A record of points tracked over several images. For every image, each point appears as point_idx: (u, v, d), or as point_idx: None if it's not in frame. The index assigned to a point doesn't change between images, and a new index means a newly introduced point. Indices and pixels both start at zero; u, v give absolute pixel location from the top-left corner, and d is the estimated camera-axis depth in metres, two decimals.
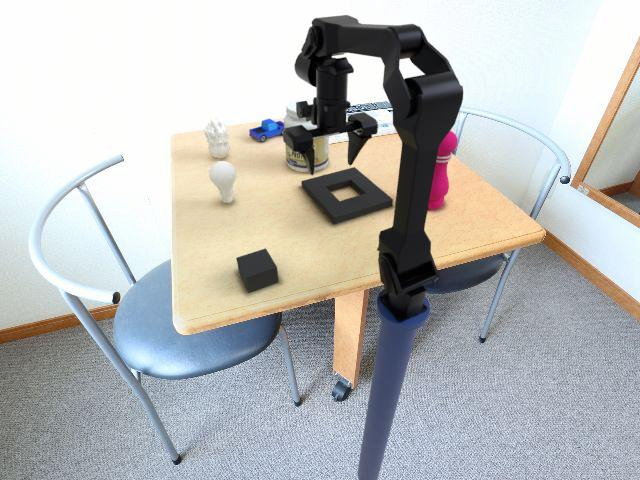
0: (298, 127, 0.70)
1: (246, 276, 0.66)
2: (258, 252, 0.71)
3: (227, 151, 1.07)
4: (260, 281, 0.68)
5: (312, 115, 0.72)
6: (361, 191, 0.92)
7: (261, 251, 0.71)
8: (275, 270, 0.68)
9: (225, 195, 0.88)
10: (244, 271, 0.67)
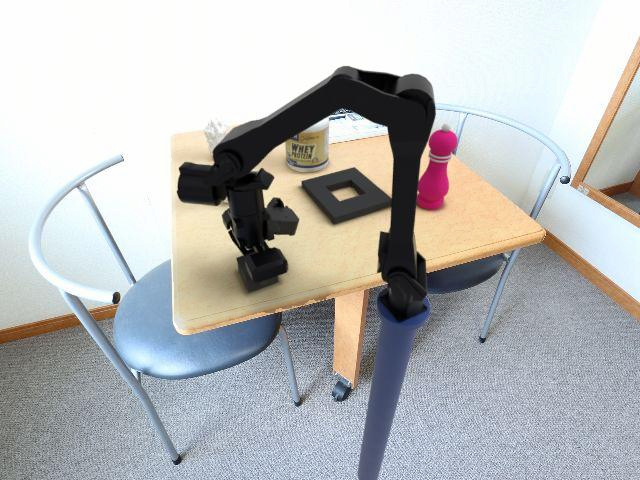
0: None
1: (246, 276, 0.66)
2: None
3: None
4: None
5: None
6: (361, 191, 0.92)
7: None
8: None
9: None
10: (244, 271, 0.67)
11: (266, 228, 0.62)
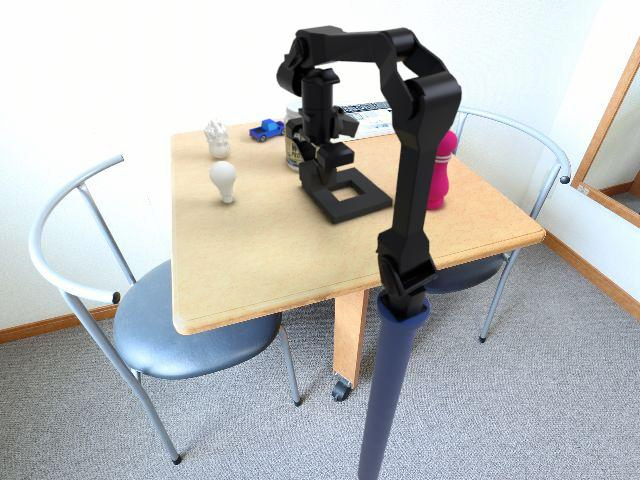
0: None
1: (311, 174, 0.73)
2: None
3: (227, 151, 1.07)
4: None
5: None
6: (361, 191, 0.92)
7: None
8: (335, 172, 0.75)
9: (225, 195, 0.88)
10: (308, 171, 0.74)
11: (333, 126, 0.69)
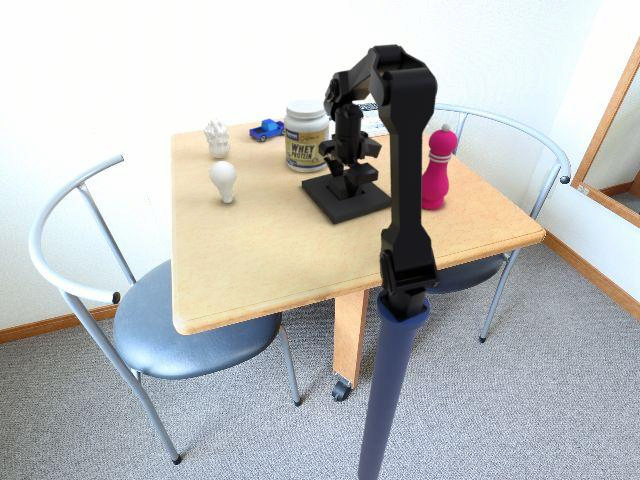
0: None
1: (340, 189, 0.87)
2: (345, 175, 0.92)
3: (227, 151, 1.07)
4: None
5: None
6: None
7: None
8: (360, 186, 0.89)
9: (225, 195, 0.88)
10: (338, 186, 0.88)
11: (360, 149, 0.83)
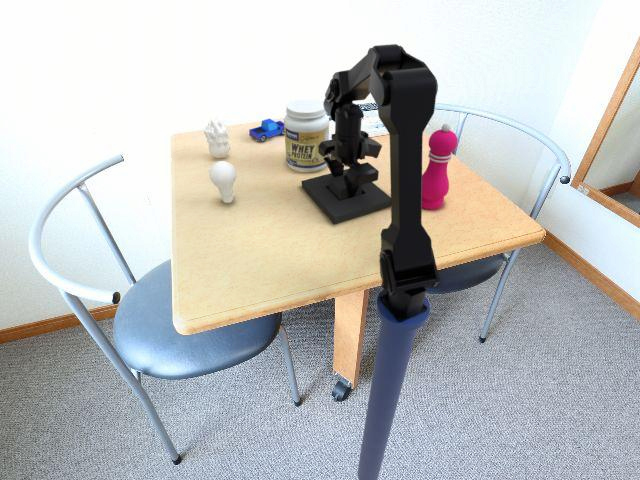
0: None
1: (341, 189, 0.87)
2: (345, 175, 0.92)
3: (227, 151, 1.07)
4: None
5: None
6: None
7: None
8: (360, 186, 0.89)
9: (225, 195, 0.88)
10: (338, 186, 0.88)
11: (360, 149, 0.83)
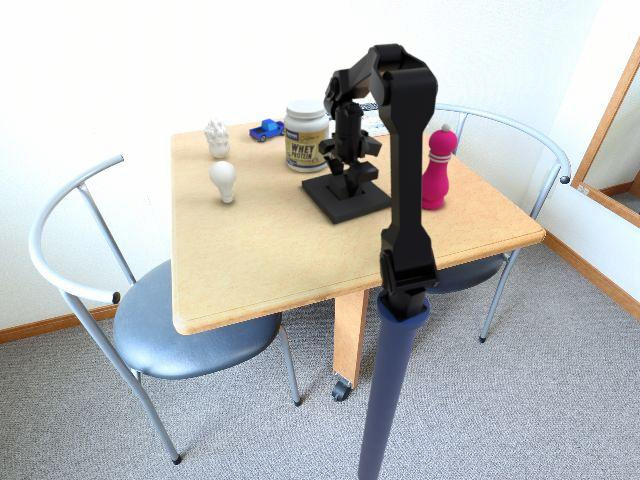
0: None
1: (341, 187, 0.87)
2: None
3: (227, 151, 1.07)
4: None
5: None
6: None
7: None
8: (361, 185, 0.89)
9: (225, 195, 0.88)
10: (338, 185, 0.88)
11: (360, 148, 0.83)
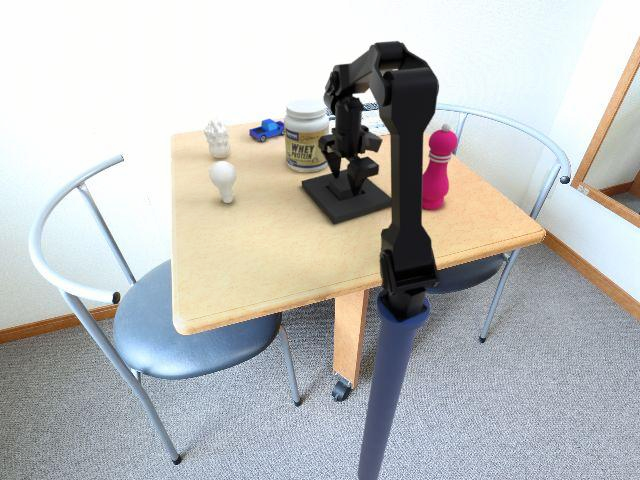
0: None
1: (340, 191, 0.87)
2: (345, 177, 0.92)
3: (227, 151, 1.07)
4: (349, 197, 0.89)
5: None
6: None
7: None
8: None
9: (225, 195, 0.88)
10: (338, 188, 0.88)
11: (360, 143, 0.82)
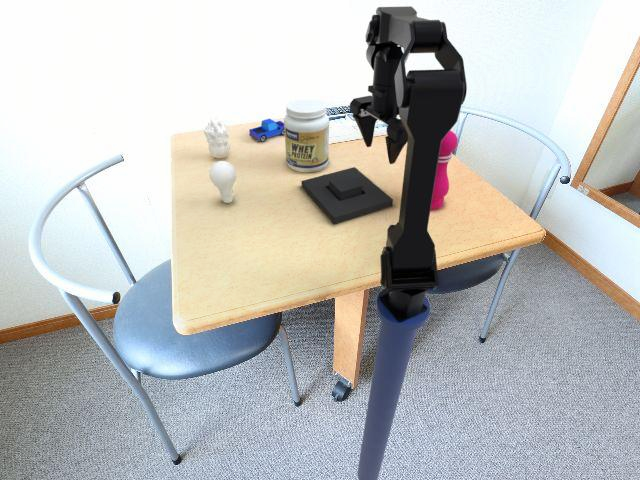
0: (372, 99, 0.80)
1: (340, 191, 0.87)
2: (345, 177, 0.92)
3: (227, 151, 1.07)
4: (349, 197, 0.89)
5: None
6: None
7: (347, 176, 0.92)
8: (360, 188, 0.89)
9: (225, 195, 0.88)
10: (338, 188, 0.88)
11: None
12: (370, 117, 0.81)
